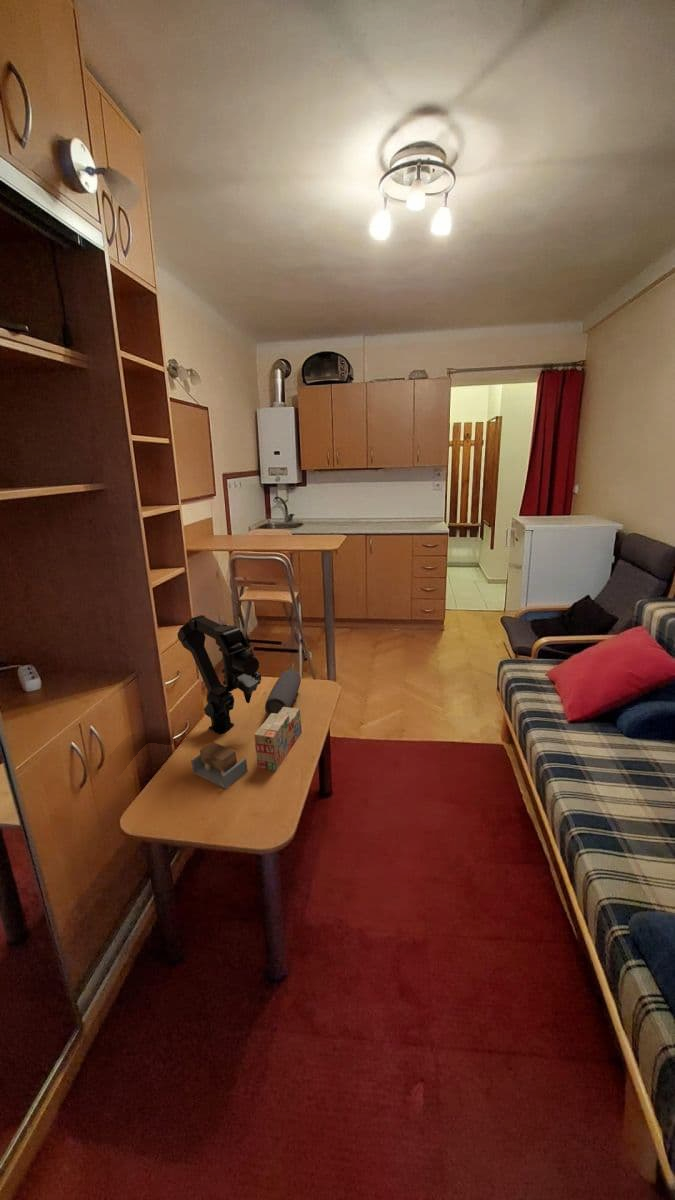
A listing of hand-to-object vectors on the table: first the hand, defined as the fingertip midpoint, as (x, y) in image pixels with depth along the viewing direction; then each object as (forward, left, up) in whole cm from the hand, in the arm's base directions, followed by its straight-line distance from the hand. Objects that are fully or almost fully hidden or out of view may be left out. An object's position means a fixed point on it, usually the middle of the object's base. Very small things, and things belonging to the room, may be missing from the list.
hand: (238, 709), depth 153 cm
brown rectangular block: (+6, -15, -8) cm, 18 cm away
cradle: (+6, -15, -12) cm, 20 cm away
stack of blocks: (+15, +3, -12) cm, 19 cm away
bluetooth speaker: (-2, +25, -12) cm, 28 cm away
